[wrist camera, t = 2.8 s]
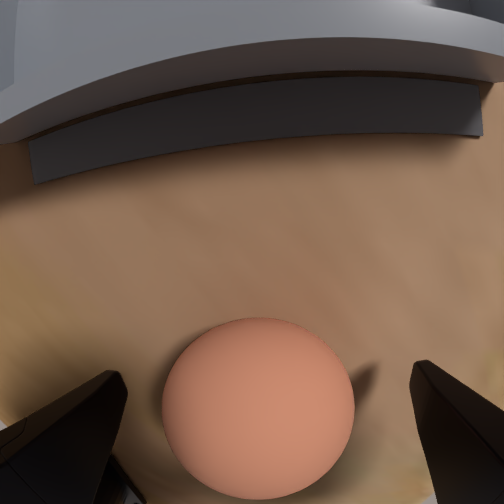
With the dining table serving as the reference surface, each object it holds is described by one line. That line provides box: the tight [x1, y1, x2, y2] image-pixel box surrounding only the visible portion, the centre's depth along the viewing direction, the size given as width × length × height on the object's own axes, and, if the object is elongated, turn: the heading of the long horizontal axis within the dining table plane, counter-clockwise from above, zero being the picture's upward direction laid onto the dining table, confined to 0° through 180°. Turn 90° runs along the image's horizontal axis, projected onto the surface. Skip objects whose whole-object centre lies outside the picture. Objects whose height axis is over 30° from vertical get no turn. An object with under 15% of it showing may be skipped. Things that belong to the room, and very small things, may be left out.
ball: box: [162, 318, 355, 500], centre depth 8 cm, size 5×5×5 cm
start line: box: [28, 77, 483, 185], centre depth 8 cm, size 2×14×1 cm, turn 96°
